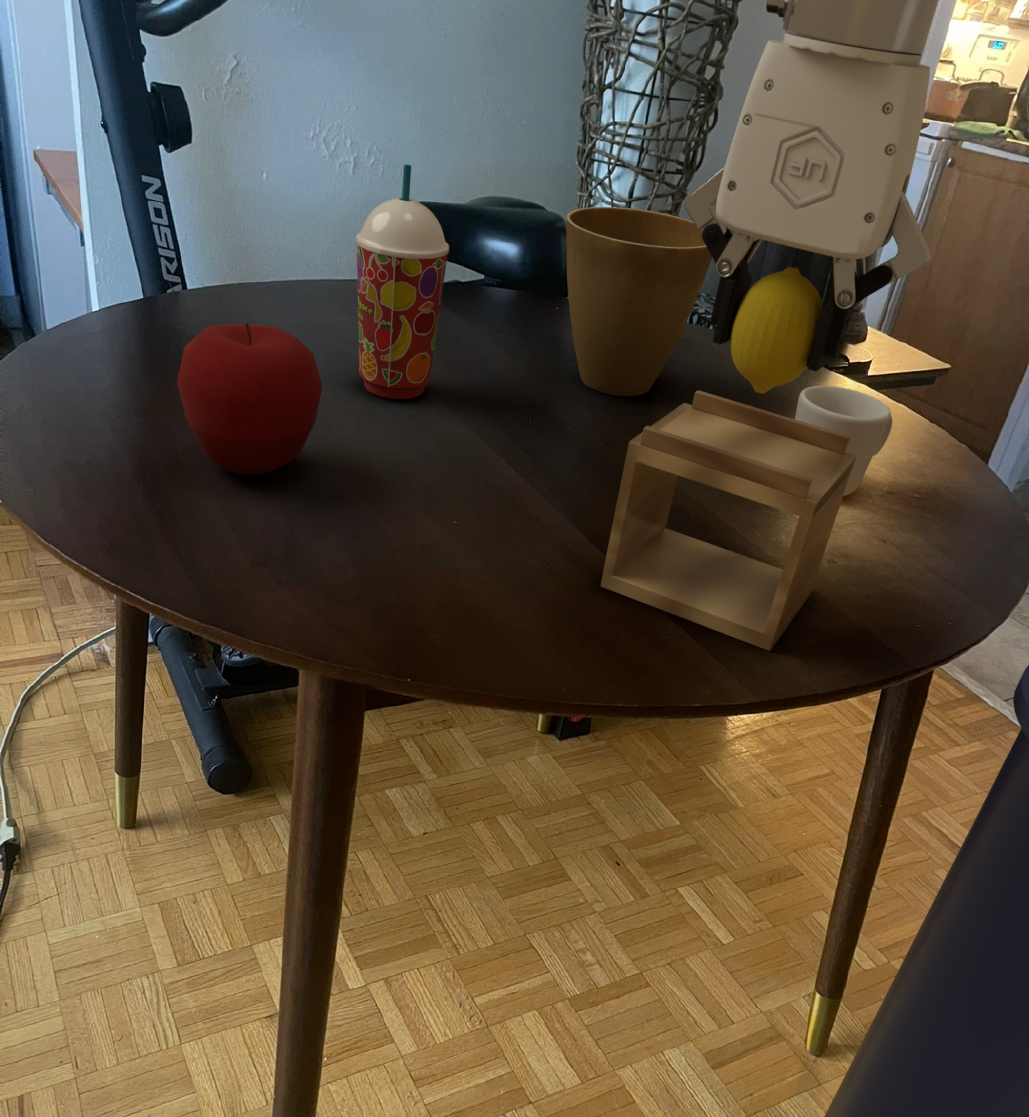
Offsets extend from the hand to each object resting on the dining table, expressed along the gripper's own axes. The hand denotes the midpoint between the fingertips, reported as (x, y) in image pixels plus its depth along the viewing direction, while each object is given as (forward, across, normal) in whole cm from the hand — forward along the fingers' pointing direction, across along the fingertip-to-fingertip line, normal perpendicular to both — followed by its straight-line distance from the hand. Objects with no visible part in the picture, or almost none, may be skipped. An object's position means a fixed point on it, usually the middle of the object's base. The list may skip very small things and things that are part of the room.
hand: (771, 349), depth 68 cm
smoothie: (+18, -39, +16) cm, 46 cm away
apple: (+18, -37, -7) cm, 42 cm away
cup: (+18, +2, +27) cm, 33 cm away
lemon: (+3, 0, 0) cm, 3 cm away
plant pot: (+18, -24, +35) cm, 46 cm away
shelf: (+18, 0, 0) cm, 18 cm away
